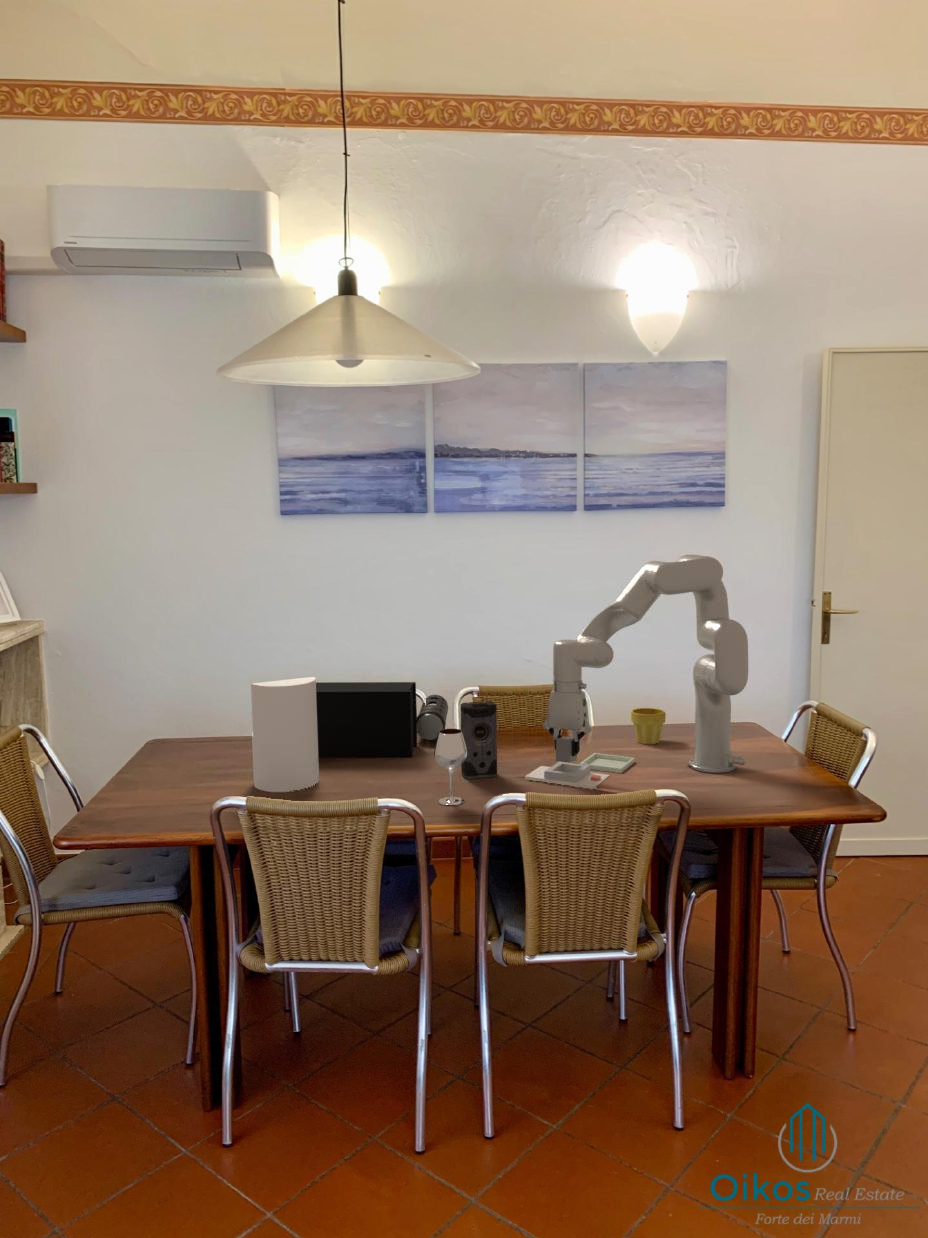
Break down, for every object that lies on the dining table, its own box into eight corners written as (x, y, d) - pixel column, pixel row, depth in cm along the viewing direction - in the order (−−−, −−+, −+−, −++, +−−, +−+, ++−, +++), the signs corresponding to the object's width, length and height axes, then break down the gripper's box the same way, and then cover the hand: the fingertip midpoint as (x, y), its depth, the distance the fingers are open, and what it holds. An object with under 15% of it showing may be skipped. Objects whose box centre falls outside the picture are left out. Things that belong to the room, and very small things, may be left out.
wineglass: (467, 796, 232) (466, 727, 229) (468, 806, 223) (467, 735, 221) (435, 797, 231) (433, 727, 229) (435, 807, 223) (433, 735, 221)
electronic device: (465, 780, 245) (464, 707, 243) (460, 773, 251) (459, 702, 248) (498, 776, 248) (498, 704, 245) (492, 770, 253) (491, 700, 251)
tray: (634, 764, 257) (634, 757, 257) (621, 776, 247) (621, 768, 247) (594, 759, 263) (594, 753, 263) (579, 770, 253) (579, 763, 252)
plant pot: (636, 736, 289) (636, 706, 288) (668, 739, 284) (669, 708, 283) (627, 744, 280) (627, 713, 278) (660, 747, 275) (660, 715, 274)
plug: (576, 760, 244) (577, 738, 245) (569, 762, 240) (570, 739, 240) (562, 758, 246) (563, 736, 246) (555, 760, 242) (556, 738, 242)
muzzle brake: (449, 723, 310) (448, 693, 309) (445, 744, 282) (444, 712, 281) (421, 723, 310) (420, 693, 309) (414, 745, 283) (413, 712, 281)
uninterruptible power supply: (411, 759, 266) (410, 692, 264) (297, 759, 268) (295, 692, 266) (417, 744, 283) (416, 681, 280) (310, 744, 285) (307, 681, 282)
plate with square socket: (609, 778, 245) (609, 767, 244) (595, 790, 235) (595, 778, 235) (541, 769, 254) (541, 758, 254) (524, 780, 245) (524, 769, 244)
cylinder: (328, 785, 242) (325, 681, 239) (265, 796, 234) (260, 689, 230) (306, 769, 257) (302, 671, 254) (245, 779, 249) (241, 678, 245)
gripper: (602, 686, 241) (601, 754, 243) (543, 681, 249) (543, 747, 251) (592, 691, 234) (591, 761, 237) (532, 686, 242) (532, 753, 244)
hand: (567, 753), depth 244 cm, fingers closed on plug, 3 cm apart
